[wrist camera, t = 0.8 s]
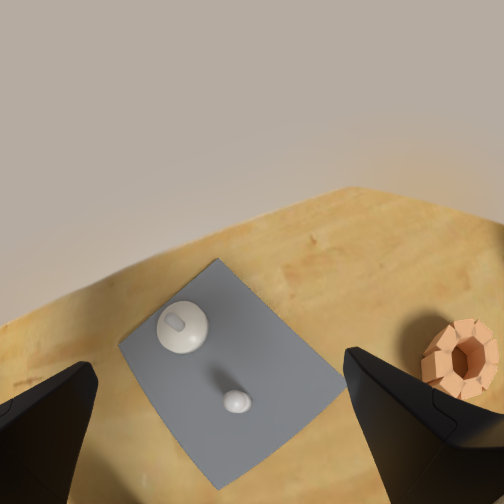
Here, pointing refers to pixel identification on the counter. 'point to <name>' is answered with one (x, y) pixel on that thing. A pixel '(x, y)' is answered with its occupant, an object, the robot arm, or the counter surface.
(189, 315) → the gear board
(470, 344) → the orange gear
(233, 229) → the counter surface
